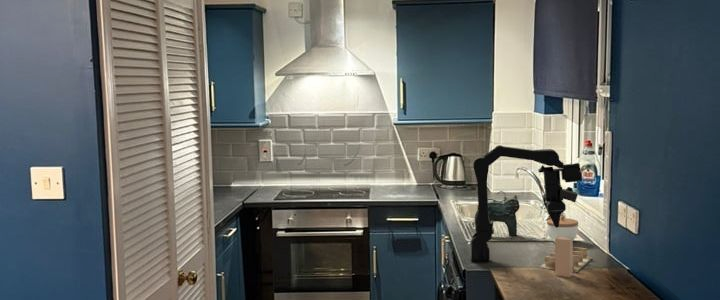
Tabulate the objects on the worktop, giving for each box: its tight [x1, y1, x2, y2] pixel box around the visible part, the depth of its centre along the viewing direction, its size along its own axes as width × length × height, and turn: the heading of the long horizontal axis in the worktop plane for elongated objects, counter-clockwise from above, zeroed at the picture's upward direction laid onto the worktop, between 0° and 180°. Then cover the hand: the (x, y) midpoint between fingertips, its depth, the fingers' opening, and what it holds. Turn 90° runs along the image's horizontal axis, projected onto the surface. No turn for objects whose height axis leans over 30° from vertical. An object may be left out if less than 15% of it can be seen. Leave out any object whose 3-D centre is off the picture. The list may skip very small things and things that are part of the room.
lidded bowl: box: [546, 215, 579, 244], centre depth 268 cm, size 13×13×11 cm
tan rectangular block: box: [554, 237, 574, 278], centre depth 220 cm, size 4×5×13 cm
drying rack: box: [539, 246, 593, 273], centre depth 235 cm, size 13×21×4 cm, turn 146°
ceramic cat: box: [474, 190, 520, 237], centre depth 283 cm, size 20×6×20 cm, turn 85°
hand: (555, 224), depth 237 cm, fingers open, 9 cm apart
